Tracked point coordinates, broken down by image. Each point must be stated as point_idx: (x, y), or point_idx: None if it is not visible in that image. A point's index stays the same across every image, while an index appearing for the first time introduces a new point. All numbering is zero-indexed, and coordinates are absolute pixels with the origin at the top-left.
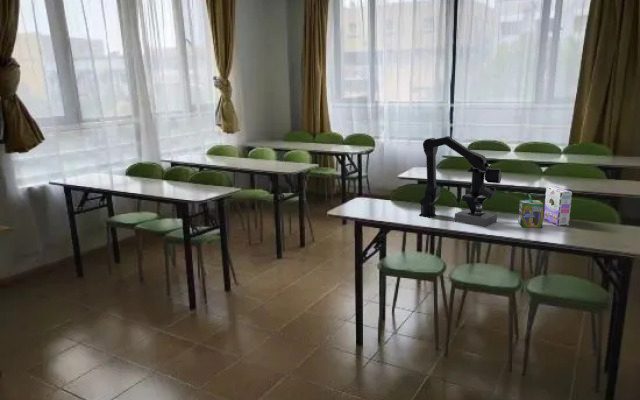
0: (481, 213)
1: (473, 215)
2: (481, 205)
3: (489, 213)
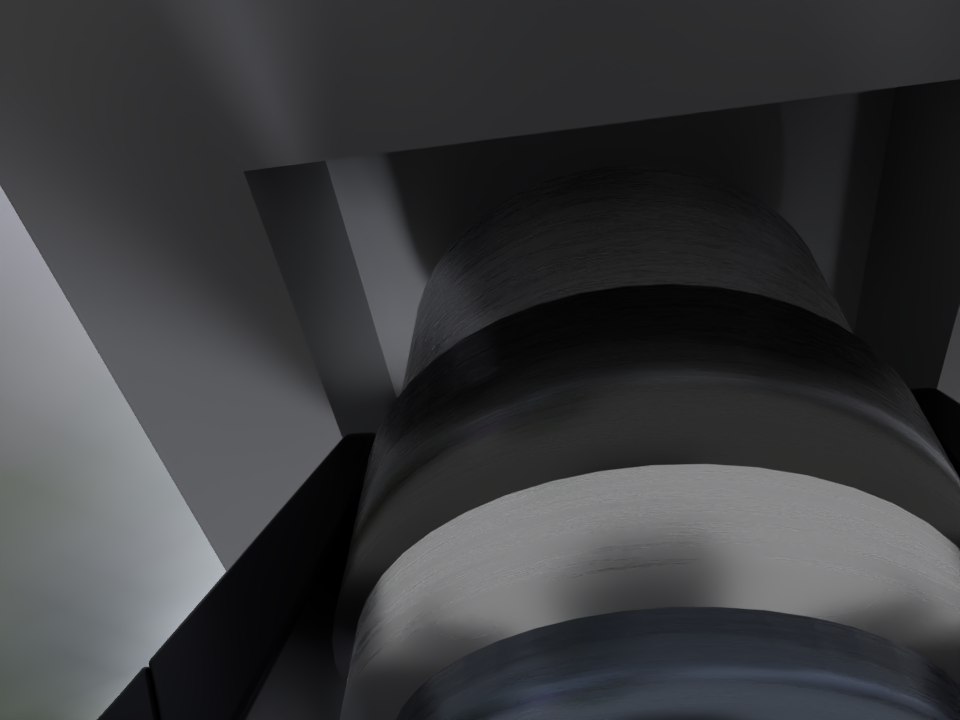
0: (528, 259)
1: (957, 339)
2: (402, 658)
3: (45, 88)
